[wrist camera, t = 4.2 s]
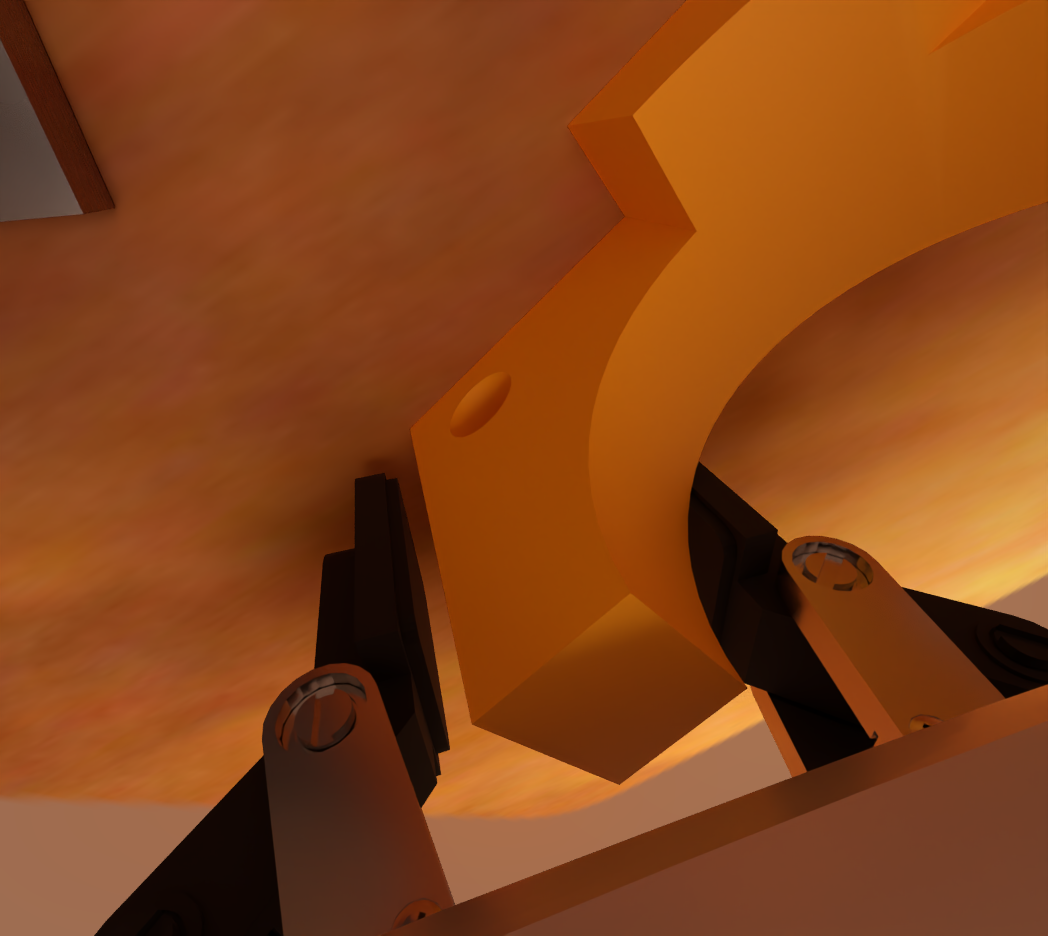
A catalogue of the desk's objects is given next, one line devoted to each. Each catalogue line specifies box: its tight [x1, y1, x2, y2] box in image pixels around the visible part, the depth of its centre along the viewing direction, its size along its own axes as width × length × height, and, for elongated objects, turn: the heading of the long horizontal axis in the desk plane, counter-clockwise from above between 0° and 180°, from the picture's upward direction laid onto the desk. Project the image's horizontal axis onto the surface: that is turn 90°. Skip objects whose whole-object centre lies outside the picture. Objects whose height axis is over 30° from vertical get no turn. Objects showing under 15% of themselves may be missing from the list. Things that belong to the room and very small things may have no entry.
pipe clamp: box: [410, 0, 1048, 785], centre depth 7 cm, size 12×4×6 cm, turn 131°
